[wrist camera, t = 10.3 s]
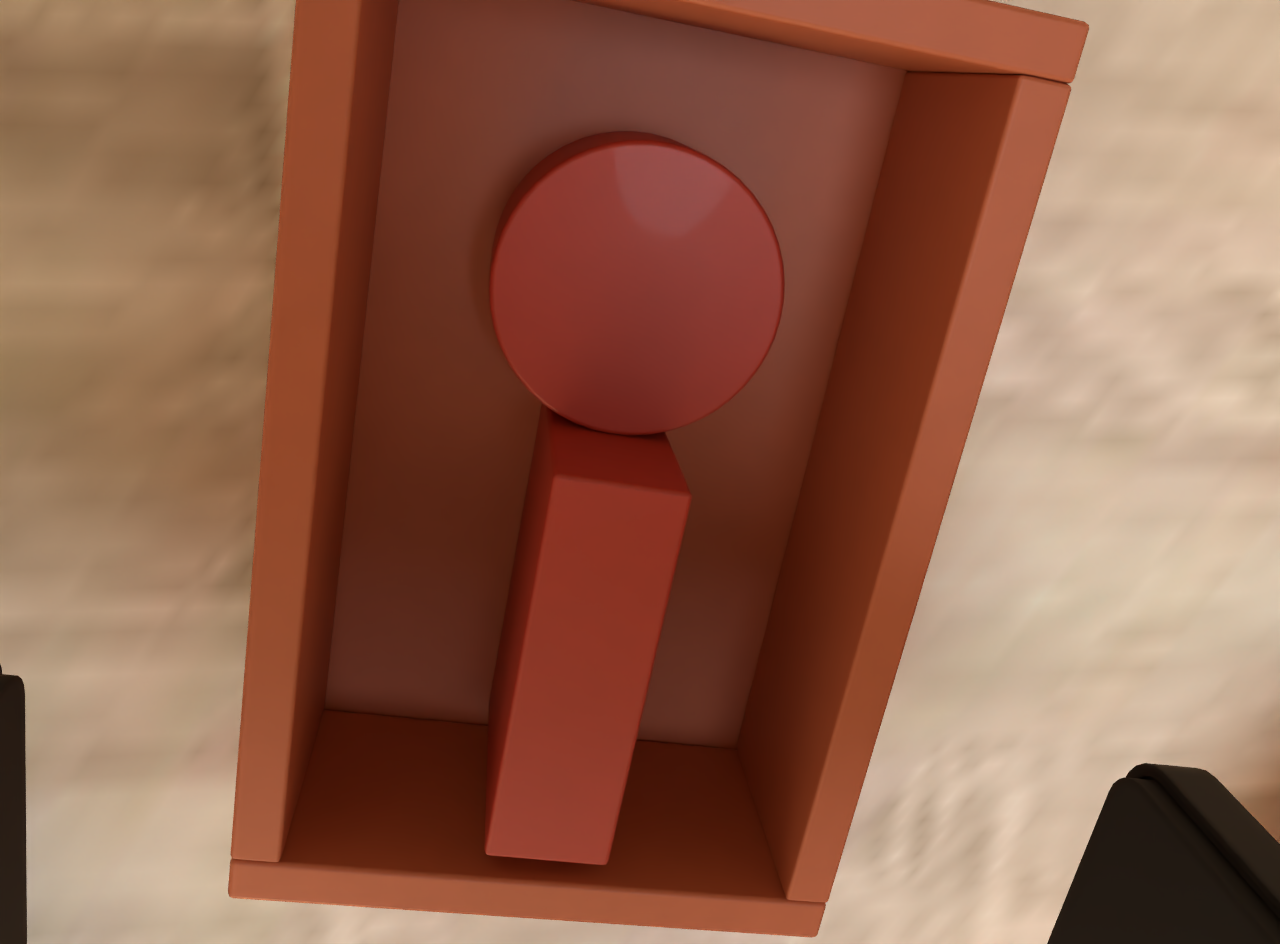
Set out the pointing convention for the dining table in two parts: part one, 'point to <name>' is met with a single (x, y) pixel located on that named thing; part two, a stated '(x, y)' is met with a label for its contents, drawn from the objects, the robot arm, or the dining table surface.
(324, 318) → the red bin
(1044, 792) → the dining table surface
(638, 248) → the red disc on stick
